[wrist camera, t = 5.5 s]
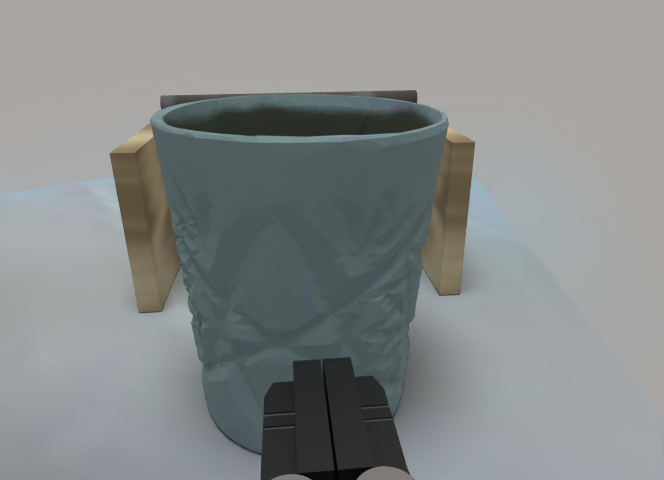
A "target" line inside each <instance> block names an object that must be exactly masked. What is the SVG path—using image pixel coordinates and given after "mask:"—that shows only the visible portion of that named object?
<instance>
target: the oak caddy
mask: <svg viewBox="0 0 664 480" xmlns="http://www.w3.org/2000/svg"><path fill="white" fill-rule="evenodd" d="M286 94H319V95H345V96H361V97H374V98H386V99H395V100H401V101H408V102H412V103H417V92H416V90H411V91H410V90H407V91H362V92H313V93H266V94H220V95H176V96H175V95H172V96H161V98H160V102H161V103H160V104H161V110H162V109H165V108H167V107H170V106H175V105H179V104H184V103H190V102H196V101H202V100H210V99H221V98H229V97H237V96H255V95H286ZM474 148H475V142H474V141H472V140H470V139H469V138H467V137H465V136H464V135H462V134H460V133H459V132H457V131H455V130H453V129H452V128H450V127H448V130H447V135H446V140H445V145H444V150H443V156H442V161H441V166H440V171H439V176H438V181H437V187H436V193H435V199H434V204H433V210H432V216H431V221H430V226H429V228H428V231H427V238H426V243H425V244H424V246H423V247H422V248H421V255H420V256H421V257H422V262H423V268H424V270H425V272H426V273H427V275H428V277H429V278H430V280H431V282H432V283H433V285H434V287H435V288H436V290H437V292H438V293H439V295H451V294H460V285H461V275H462V265H463V255H464V246H465V236H466V226H467V217H468V207H469V197H470V187H471V178H472V168H473V158H474ZM110 158H111V163H112V169H113V174H114V179H115V185H116V190H117V196H118V201H119V206H120V212H121V217H122V223H123V228H124V234H125V239H126V244H127V250H128V255H129V261H130V266H131V271H132V277H133V282H134V288H135V293H136V299H137V304H138V309H139V312H156V311H161V310H162V308H163V305H164V303H165V301H166V298H167V296H168V293H169V291H170V288H171V286H172V284H173V281H174V279H175V276H176V274H177V271H178V269H179V267H180V264H181V261H180V257H179V255H178V253H177V249H176V240H177V235H176V234H175V232H174V231H173V227H172V219H171V211H170V208H169V205H168V201H167V197H166V193H165V188H164V183H163V178H162V173H161V168H160V163H159V159H158V154H157V150H156V145H155V141H154V136H153V132H152V127H151V123H150V124H148V125H147V126H146V127H145V128H143V129H142V130H140V131H139V132H138V133H136V134H135V135H134V136H132V137H131V138H130V139H128V140H127V141H126V142H125V143H123V144H122V145H120V146H119V147H118V148H116V149H115V150H114V151H112V152H111V153H110Z"/></svg>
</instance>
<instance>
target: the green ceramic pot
mask: <svg viewBox="0 0 664 480" xmlns="http://www.w3.org/2000/svg"><path fill="white" fill-rule="evenodd" d="M150 123H151V127H152V132H153V136H154V141H155V145H156V150H157V154H158V159H159V163H160V168H161V173H162V178H163V183H164V188H165V193H166V197H167V201H168V205H169V208H170V211H171V219H172V227H173V231H174V232H175V234H176V235H177V240H176V249H177V253H178V255H179V257H180V261H181V265H180V266H181V268H182V270H183V273H182V276H183V281H184V284H185V285H186V287H187V288H186V290H187V291H188V293H189V297H188V306H189V309H190V312H191V313H192V314H193V318H192V319H193V320H192V322H191V325H192V329H193V332H194V338H195V344H196V346H197V351H198V357H199V360H200V361H201V362H202V363H203V370H202V381H203V386H204V392H205V397H206V402H207V405H208V408H209V411H210V413H211V415H212V417H213V419H214V420H215V422H216V424H217V425H218V427H219V428H220V429H221V431H222V432H223V433H225V434H226V435H227V436H228V437H229V438H230V439H232V440H233V441H235V442H236V443H237V444H239V445H240V446H242V447H245V448H247V449H249V450H251V451H254V452H257V453H260V454H262V435H263V411H264V396H265V395H266V393H267V392H268V390H269V388H270V387H271V385H272V383H274V382H288V381H294V377H293V361H298V360H313V359H321V366H322V360H323V359H327V358H342V357H350V358H351V361H352V365H353V370H354V375H355V377H359V376H373V377H374V378H375V379H376V380H377V381H378V382H379V383H380V385H381V386H382V387H383V388H384V390H385V393H386V397H387V400H388V404H389V407H390V410H391V414H392V416H393V415H394V413H395V411H396V409H397V407H398V404H399V401H400V399H401V396H402V390H403V384H404V375H405V370H406V363H407V358H408V352H409V343H410V342H409V337H408V330H409V326H408V325H409V323H410V322H411V321H412V319H413V318H414V316H415V306H416V300H417V295H418V289H419V283H420V277H421V272H422V268H423V262H422V257H421V256H420V255H421V248H422V247H423V246H424V244H425V243H426V238H427V231H428V228H429V226H430V221H431V216H432V210H433V204H434V199H435V193H436V187H437V181H438V176H439V171H440V166H441V161H442V156H443V150H444V145H445V140H446V135H447V130H448V119H447V116H446V114H445V113H444V112H442V111H440V110H438V109H435V108H432V107H430V106H427V105H421V104H417V103H412V102H408V101H401V100H395V99H386V98H374V97H361V96H345V95H319V94H286V95H255V96H237V97H229V98H221V99H210V100H202V101H196V102H190V103H184V104H179V105H175V106H170V107H167V108H165V109H162V110H160V111H157V112H156V113H155V114H154V115H153V116H152V117H151V120H150ZM322 374H323V371H322Z"/></svg>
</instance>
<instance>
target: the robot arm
mask: <svg viewBox="0 0 664 480" xmlns="http://www.w3.org/2000/svg"><path fill="white" fill-rule="evenodd" d="M322 371H323V374H322ZM293 377H294V381H288V382H274V383H272V385H271V387H270V388H269V390H268V392H267V393H266V395H265V396H264V411H263V435H262V460H261V480H415V479H414V478H413V477H412V476H411V475H410V473H409V471H408V469H407V466H406V462H405V459H404V455H403V452H402V448H401V445H400V441H399V438H398V435H397V431H396V428H395V424H394V421H393V419H392V414H391V410H390V407H389V404H388V400H387V397H386V393H385V390H384V388H383V387H382V386H381V385H380V383H379V382H378V381H377V380H376V379H375V378H374V377H373V376H359V377H355V375H354V370H353V365H352V361H351V358H350V357H342V358H327V359H323V360H322V366H321V359H313V360H298V361H293Z"/></svg>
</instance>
